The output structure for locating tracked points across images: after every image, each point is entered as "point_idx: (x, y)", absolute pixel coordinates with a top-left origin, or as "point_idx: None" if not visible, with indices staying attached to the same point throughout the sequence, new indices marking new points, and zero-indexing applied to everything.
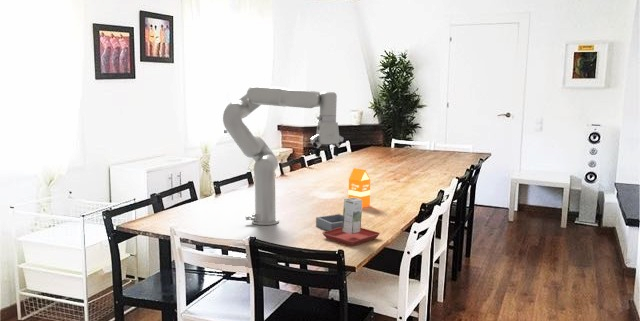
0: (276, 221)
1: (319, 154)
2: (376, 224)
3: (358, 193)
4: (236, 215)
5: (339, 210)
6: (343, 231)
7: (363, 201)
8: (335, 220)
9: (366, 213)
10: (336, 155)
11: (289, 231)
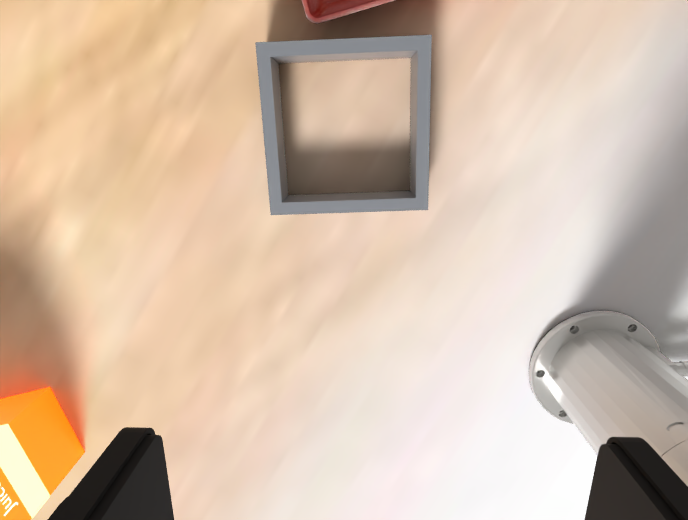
0: (571, 323)
1: (656, 475)
2: (115, 65)
3: (3, 450)
4: None
5: (171, 392)
6: None
7: (8, 410)
8: (307, 196)
9: (67, 286)
10: (158, 440)
11: (592, 171)
